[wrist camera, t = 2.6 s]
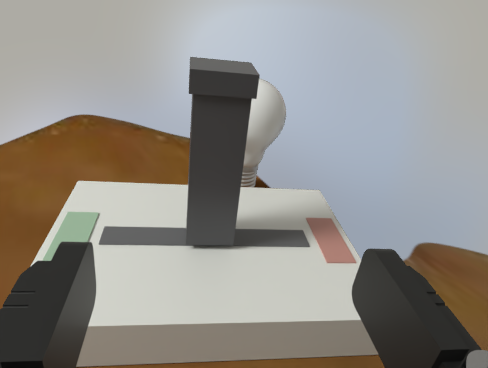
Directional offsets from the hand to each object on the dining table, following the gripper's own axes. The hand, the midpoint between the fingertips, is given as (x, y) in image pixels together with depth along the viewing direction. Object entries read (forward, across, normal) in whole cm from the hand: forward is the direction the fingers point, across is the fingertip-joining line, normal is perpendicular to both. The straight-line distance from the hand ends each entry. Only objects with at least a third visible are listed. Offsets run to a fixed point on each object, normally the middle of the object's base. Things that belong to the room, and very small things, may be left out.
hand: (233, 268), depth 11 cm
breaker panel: (+12, 0, +10) cm, 16 cm away
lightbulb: (+24, -4, +11) cm, 26 cm away
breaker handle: (+11, 0, +7) cm, 13 cm away
